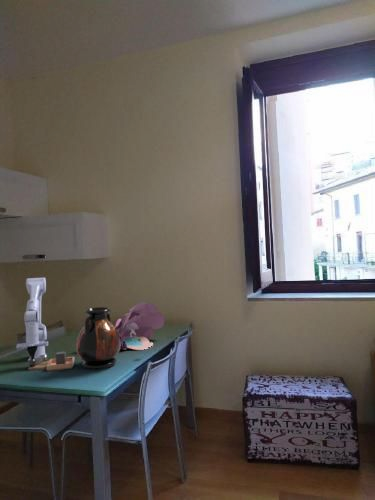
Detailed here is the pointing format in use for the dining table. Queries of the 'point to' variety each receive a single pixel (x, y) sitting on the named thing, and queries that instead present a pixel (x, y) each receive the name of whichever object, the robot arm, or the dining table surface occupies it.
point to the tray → (53, 366)
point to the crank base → (39, 366)
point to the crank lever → (37, 360)
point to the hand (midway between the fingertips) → (33, 361)
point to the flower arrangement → (139, 326)
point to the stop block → (60, 358)
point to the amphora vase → (98, 340)
